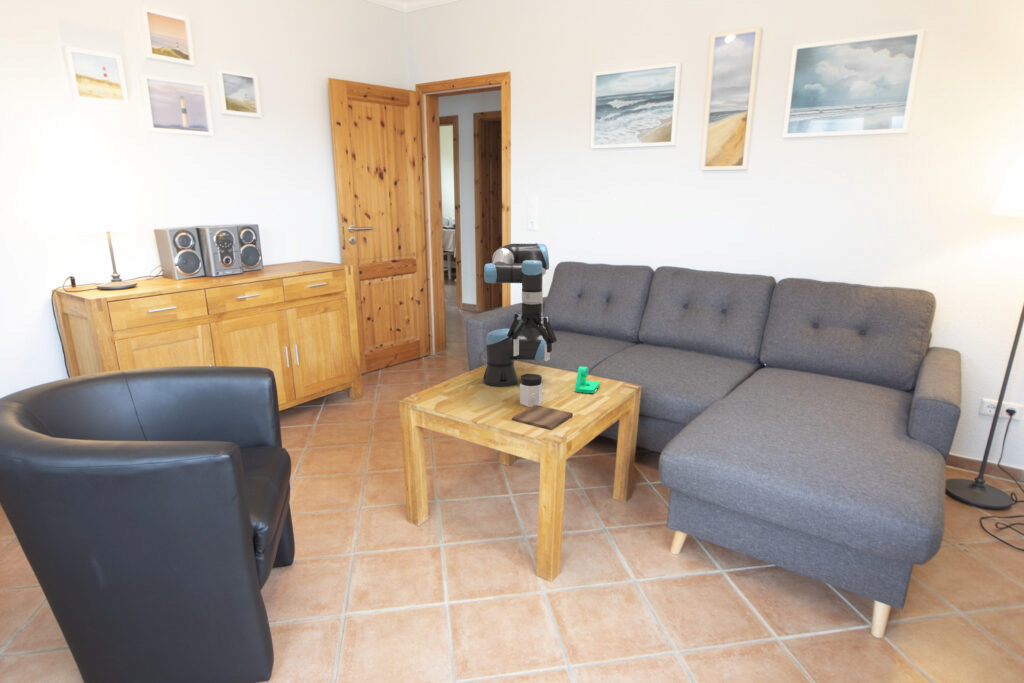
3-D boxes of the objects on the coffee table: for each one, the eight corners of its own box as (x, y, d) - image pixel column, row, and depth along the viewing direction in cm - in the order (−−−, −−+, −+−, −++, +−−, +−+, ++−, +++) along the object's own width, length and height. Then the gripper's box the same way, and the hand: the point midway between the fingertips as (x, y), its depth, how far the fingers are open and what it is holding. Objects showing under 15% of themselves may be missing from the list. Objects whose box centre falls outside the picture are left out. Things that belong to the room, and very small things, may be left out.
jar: (522, 410, 212) (522, 380, 209) (517, 403, 219) (517, 374, 217) (544, 408, 214) (545, 378, 211) (539, 401, 221) (539, 372, 219)
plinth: (511, 424, 198) (511, 417, 197) (534, 410, 211) (534, 404, 211) (551, 434, 190) (551, 427, 189) (572, 419, 203) (572, 412, 202)
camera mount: (592, 396, 228) (593, 372, 225) (574, 394, 231) (575, 370, 228) (600, 387, 239) (601, 364, 236) (582, 385, 242) (583, 362, 239)
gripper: (498, 301, 210) (498, 355, 215) (556, 307, 197) (555, 364, 202) (509, 298, 217) (509, 351, 221) (566, 304, 203) (565, 360, 208)
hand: (531, 358), depth 212 cm, fingers open, 13 cm apart
